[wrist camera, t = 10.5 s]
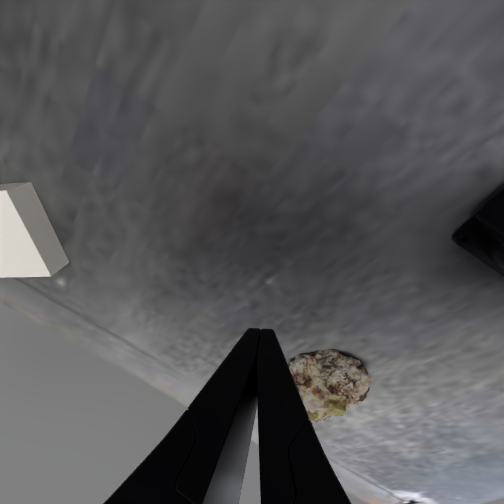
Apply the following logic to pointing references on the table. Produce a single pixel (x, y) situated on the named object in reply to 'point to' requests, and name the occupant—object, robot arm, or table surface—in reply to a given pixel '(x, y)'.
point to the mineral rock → (329, 383)
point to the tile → (27, 235)
